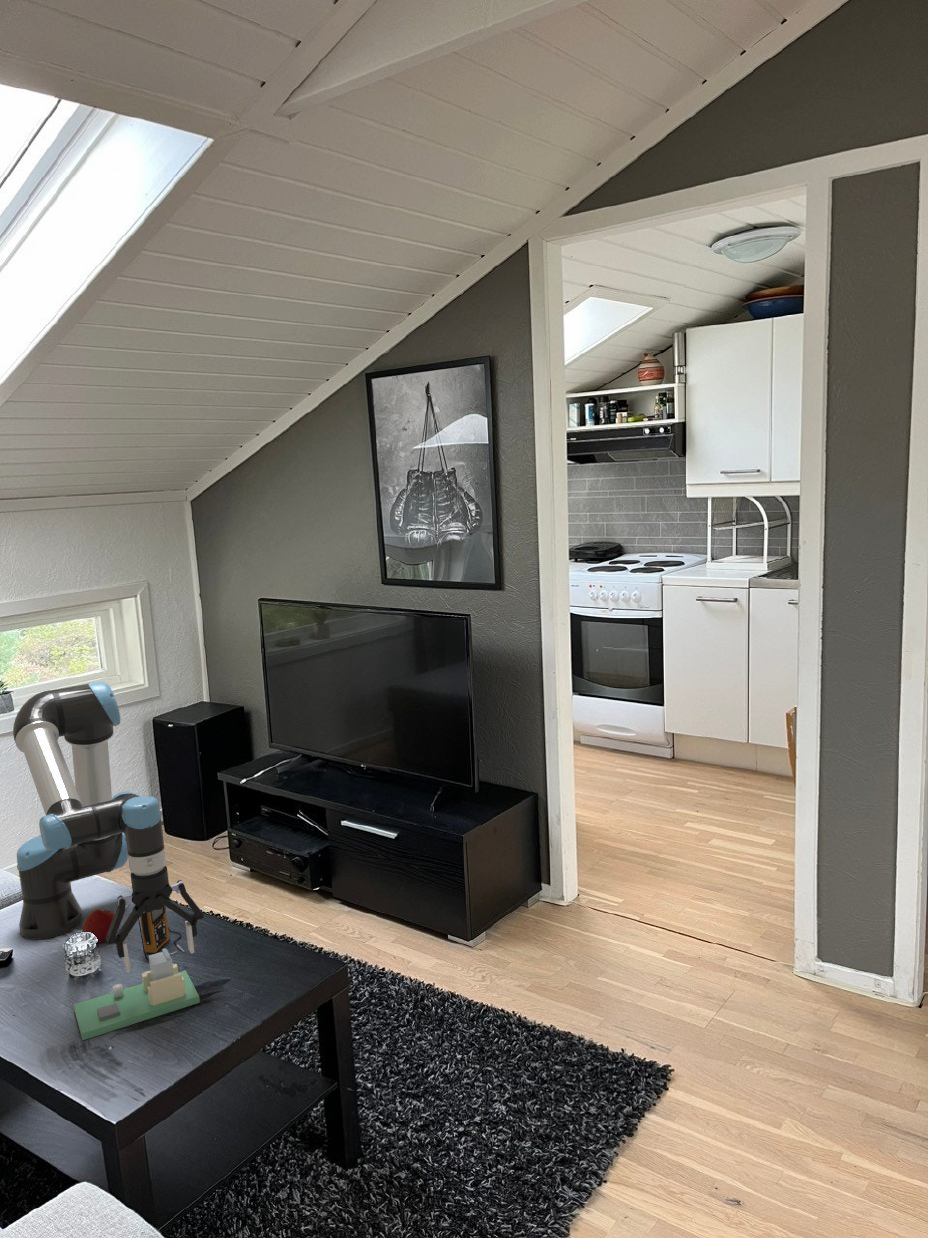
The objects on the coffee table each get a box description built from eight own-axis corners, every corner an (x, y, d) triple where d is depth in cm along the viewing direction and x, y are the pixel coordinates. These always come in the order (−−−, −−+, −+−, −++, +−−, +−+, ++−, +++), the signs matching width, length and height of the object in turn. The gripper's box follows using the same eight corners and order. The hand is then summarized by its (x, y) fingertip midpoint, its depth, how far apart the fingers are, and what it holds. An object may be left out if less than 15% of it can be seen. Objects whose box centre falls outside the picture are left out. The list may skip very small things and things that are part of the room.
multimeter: (175, 963, 225) (164, 883, 221) (136, 962, 227) (125, 882, 223) (203, 933, 239) (194, 857, 235) (167, 931, 241) (157, 856, 238)
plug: (153, 989, 211) (148, 953, 209) (171, 983, 213) (166, 947, 211) (157, 999, 206) (152, 963, 205) (176, 993, 208) (171, 957, 207)
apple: (115, 945, 235) (111, 915, 234) (81, 950, 234) (77, 920, 233) (122, 931, 243) (117, 901, 241) (88, 935, 242) (84, 906, 240)
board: (74, 1011, 207) (70, 983, 206) (186, 976, 218) (183, 950, 217) (82, 1040, 196) (78, 1011, 195) (199, 1002, 207) (196, 974, 206)
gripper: (89, 891, 196) (102, 985, 200) (211, 860, 208) (221, 950, 211) (84, 877, 202) (97, 969, 206) (202, 848, 214) (212, 936, 218)
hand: (160, 960), depth 209 cm, fingers open, 13 cm apart
